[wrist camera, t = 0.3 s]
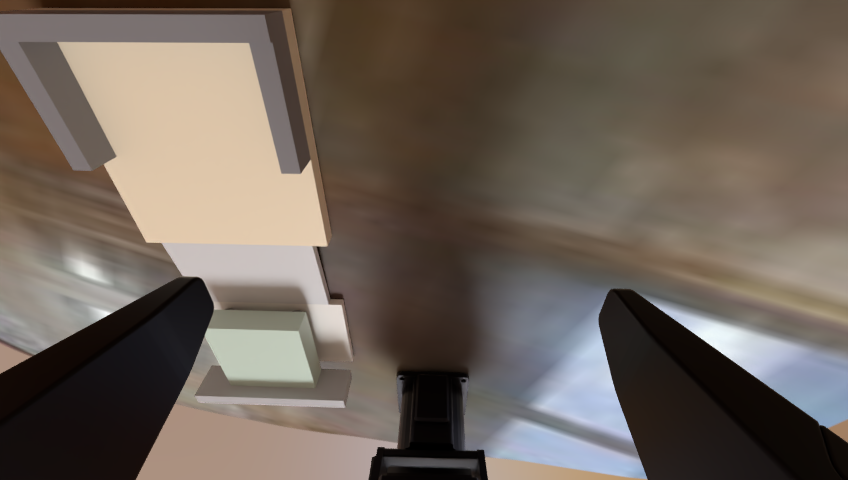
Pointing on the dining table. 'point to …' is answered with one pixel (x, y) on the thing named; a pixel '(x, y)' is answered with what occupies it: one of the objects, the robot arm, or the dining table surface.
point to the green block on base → (268, 362)
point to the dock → (194, 142)
